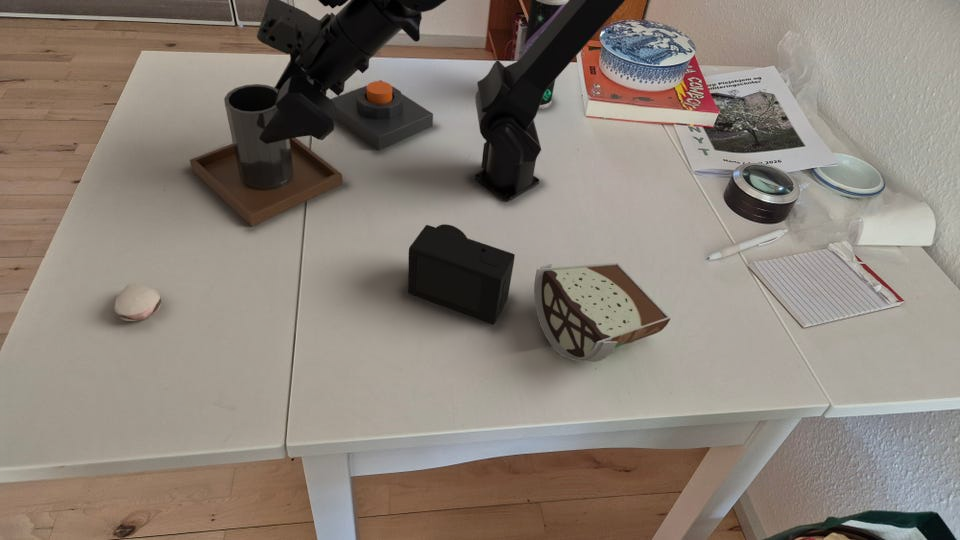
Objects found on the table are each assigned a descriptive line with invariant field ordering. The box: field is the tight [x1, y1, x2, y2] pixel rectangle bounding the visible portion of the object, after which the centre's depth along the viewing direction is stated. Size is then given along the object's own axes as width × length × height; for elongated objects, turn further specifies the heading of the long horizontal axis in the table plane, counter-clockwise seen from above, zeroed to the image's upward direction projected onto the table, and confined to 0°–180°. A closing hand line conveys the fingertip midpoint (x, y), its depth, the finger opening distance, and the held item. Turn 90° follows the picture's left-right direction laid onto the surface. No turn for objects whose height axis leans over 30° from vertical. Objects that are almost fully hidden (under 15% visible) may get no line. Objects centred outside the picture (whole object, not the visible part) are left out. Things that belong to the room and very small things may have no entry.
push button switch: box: [329, 79, 434, 151], centre depth 96 cm, size 12×10×4 cm
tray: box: [189, 137, 344, 227], centre depth 85 cm, size 14×13×2 cm
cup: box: [223, 83, 293, 190], centre depth 82 cm, size 7×7×11 cm
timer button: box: [366, 80, 393, 104], centre depth 95 cm, size 4×4×2 cm
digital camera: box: [407, 223, 516, 325], centre depth 72 cm, size 10×5×7 cm, turn 68°
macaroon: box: [113, 283, 162, 322], centre depth 68 cm, size 4×5×2 cm
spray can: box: [522, 0, 569, 110], centre depth 99 cm, size 6×6×20 cm
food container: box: [533, 262, 672, 363], centre depth 70 cm, size 12×6×10 cm
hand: (268, 118), depth 80 cm, fingers open, 9 cm apart
